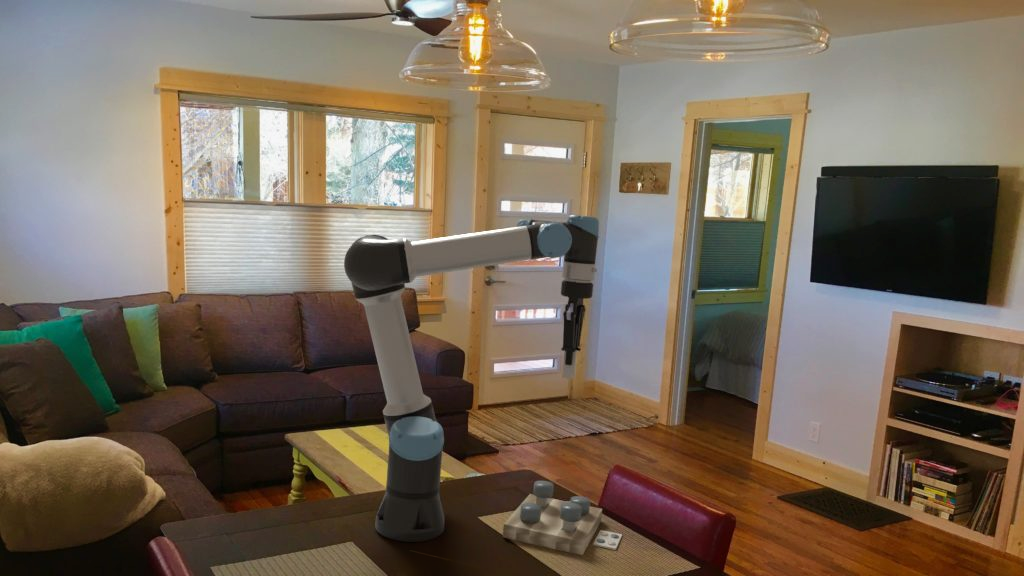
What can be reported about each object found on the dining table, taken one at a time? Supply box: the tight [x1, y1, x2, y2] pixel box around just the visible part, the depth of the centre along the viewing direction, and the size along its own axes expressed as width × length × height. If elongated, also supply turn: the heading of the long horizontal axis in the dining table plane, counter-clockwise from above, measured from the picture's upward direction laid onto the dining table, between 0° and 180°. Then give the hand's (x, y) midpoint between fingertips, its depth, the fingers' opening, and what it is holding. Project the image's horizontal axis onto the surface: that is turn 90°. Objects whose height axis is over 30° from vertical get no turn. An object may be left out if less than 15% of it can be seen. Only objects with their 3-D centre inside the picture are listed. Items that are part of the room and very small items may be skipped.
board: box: [502, 493, 603, 556], centre depth 171 cm, size 18×20×3 cm
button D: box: [569, 495, 591, 516], centre depth 174 cm, size 5×5×6 cm
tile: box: [592, 529, 623, 551], centre depth 167 cm, size 5×8×1 cm, turn 162°
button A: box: [520, 503, 541, 524], centre depth 167 cm, size 5×5×6 cm
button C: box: [560, 503, 582, 532], centre depth 165 cm, size 5×5×6 cm
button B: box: [533, 480, 555, 508], centre depth 177 cm, size 5×5×6 cm
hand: (568, 377), depth 181 cm, fingers closed
